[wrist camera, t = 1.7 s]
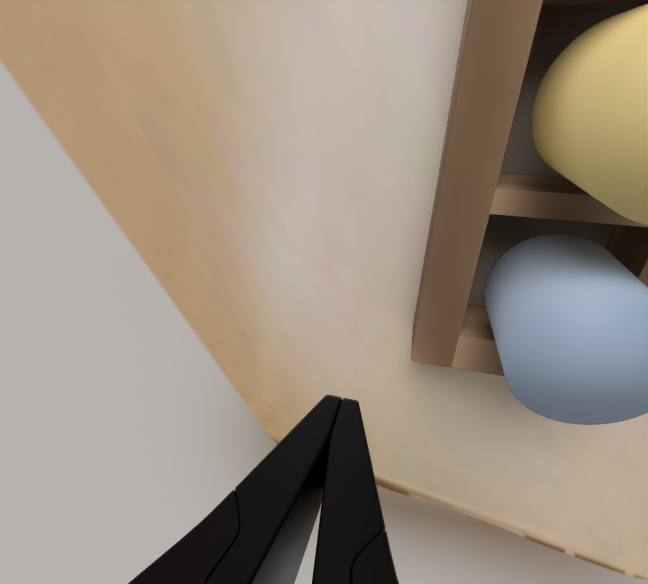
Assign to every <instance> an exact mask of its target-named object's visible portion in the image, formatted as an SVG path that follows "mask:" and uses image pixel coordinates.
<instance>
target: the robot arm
mask: <svg viewBox="0 0 648 584" xmlns="http://www.w3.org/2000/svg"><path fill="white" fill-rule="evenodd" d="M321 503H322V507H321V514H320V515H321V516H320V523H319V530H318V540H317V547H316V555H315V563H314V571H313V580H312V584H399V582H398V579H397V576H396V571H395V567H394V563H393V559H392V555H391V551H390V546H389V542H388V537H387V533H386V531H385V524H384V519H383V515H382V510H381V505H380V500H379V496H378V491H377V486H376V482H375V477H374V472H373V468H372V463H371V458H370V453H369V449H368V444H367V439H366V435H365V430H364V425H363V421H362V416H361V411H360V407H359V403H358V401H357V400H352V399H347V398H343V399H342V398H340V397H337V396H332V395H326V396H325V397H324V398H323V399H322V400H321V401H320V402H319V403H318V404H317V405H316V406H315V407H314V408H313V409H312V410H311V411H310V412H309V413H308V414H307V415H306V416H305V417H304V418H303V419H302V420H301V421H300V422H299V423H298V424H297V425H296V426H295V427H294V428H293V429H292V430H291V431H290V432H289V434H288V435H287V436H286V437H285V438H284V439H283V440H282V441H281V442H280V443H279V444H278V445H277V446H276V447H275V448H274V449H273V450H272V451H271V452H270V453H269V454H268V455H267V456H266V457H265V458H264V459H263V460H262V461H261V462H260V463H259V464H258V465H257V466H256V468H254V469H253V470H252V471H251V472H250V473H249V475H247V477H246V478H245V479H244V480H243V481H242V482H241V483H240V484H239V485H238V486H237V487H236V488H235V491H234V490H233V491H232V492H231V493H230V494H229V495H228V496H227V497H226V498H225V499H224V500H223V501H222V502H221V503H220V504H219V505H218V506H217V507H216V508H215V509H214V510H213V511H212V512H211V513H210V514H209V515H208V516H207V517H206V518H204V520H202V521H201V522H200V523H199V524H198V525H197V526H196V527H194V528H193V529H192V530H191V531H190V532H189V533H188V534H186V535H185V536H184V537H183V538H182V539H181V540H180V541H178V542H177V543H176V544H175V545H174V546H172V547H171V548H170V549H169V550H168V551H166V552H165V553H164V554H163V555H162V556H160V557H159V558H158V559H157V560H156V561H155V562H153V563H152V564H151V565H150V566H148V567H147V568H146V569H145V570H144V571H143V572H141V573H140V574H139V575H138V576H137V577H135V578H134V579H133V580H132V581H131V582H129V583H128V584H294V583H295V580H296V577H297V574H298V571H299V568H300V565H301V562H302V559H303V556H304V553H305V550H306V547H307V544H308V541H309V538H310V535H311V532H312V529H313V526H314V524H315V521H316V518H317V515H318V512H319V509H320V506H321Z"/></svg>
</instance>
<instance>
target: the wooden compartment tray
mask: <svg viewBox="0 0 648 584" xmlns="http://www.w3.org/2000/svg"><path fill="white" fill-rule="evenodd" d="M647 3H648V0H468V4H467V10H466V16H465V21H464V27H463V33H462V39H461V45H460V51H459V57H458V63H457V69H456V75H455V81H454V87H453V93H452V99H451V105H450V111H449V116H448V122H447V128H446V134H445V140H444V146H443V152H442V158H441V164H440V170H439V176H438V182H437V188H436V194H435V200H434V205H433V211H432V217H431V223H430V229H429V235H428V241H427V247H426V253H425V259H424V265H423V271H422V277H421V283H420V289H419V295H418V300H417V306H416V312H415V318H414V324H413V336H412V356H411V361H416V362H422V363H428V364H434V365H440V366H446V367H452V368H459V369H465V370H471V371H477V372H483V373H489V374H495V375H501V376H505V375H504V371H503V367H502V364H501V360H500V356H499V352H498V349H497V345H496V341H495V338H494V334H493V330H492V327H491V323H490V319H489V315H488V312H487V308H485V307H477V306H470V305H467V303H468V299H469V295H470V291H471V287H472V283H473V279H474V275H475V271H476V267H477V263H478V259H479V255H480V251H481V247H482V243H483V239H484V235H485V231H486V227H487V223H488V219H489V215H490V214H497V215H509V216H520V217H532V218H544V219H556V220H568V221H580V222H592V223H604V224H616V225H617V226H616V229H615V231H614V233H613V235H612V238H611V240H610V242H609V245H608V247H607V250H608V251H609V252H610V253H611V254H612V255H613V256H614V257H615V258H616V259H617V260H619V261H620V262H621V263H622V264H623V265H624V266H625V267H626V268H627V269H628V270H629V271H630V272H631V273H633V274H634V275H635V276H636V277H637V278H638V279H639V280H640V281H641V282H642V283H643V284H644V285H646V286H647V287H648V225H646V224H642V223H638V222H635V221H633V220H630V219H628V218H625V217H623V216H621V215H620V214H618V213H617V212H615V211H613V210H612V209H610V208H609V207H607V206H606V205H604V204H603V203H602V202H600V201H599V200H597V199H596V198H594V197H593V196H591V195H590V194H588V193H587V192H586V191H584V190H583V189H581V188H580V187H578V186H577V185H575V184H574V183H572V182H571V181H570V180H568V179H567V178H565V177H552V176H536V175H520V174H505V173H500V171H501V167H502V163H503V159H504V155H505V151H506V147H507V143H508V139H509V135H510V131H511V127H512V122H513V118H514V114H515V110H516V106H517V102H518V98H519V94H520V90H521V86H522V82H523V78H524V74H525V70H526V66H527V62H528V58H529V54H530V50H531V46H532V42H533V38H534V34H535V30H536V26H537V22H538V18H539V14H540V10H541V6H543V5H595V4H647Z"/></svg>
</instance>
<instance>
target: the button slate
mask: <svg viewBox="0 0 648 584" xmlns="http://www.w3.org/2000/svg"><path fill="white" fill-rule="evenodd" d="M484 300H485V304H486V308H487V312H488V315H489V319H490V323H491V327H492V330H493V334H494V338H495V341H496V345H497V349H498V352H499V356H500V360H501V364H502V367H503V371H504V375H505V378H506V381H507V384H508V386H509V388H510V390H511V392H512V393H513V394H514V396H515V397H516V398H517V399H518V400H519V401H520V402H521V403H522V404H523V405H525V406H526V407H527V408H529V409H530V410H532V411H534V412H535V413H537V414H540V415H542V416H544V417H547V418H550V419H553V420H556V421H561V422H565V423H572V424H584V425H594V424H607V423H614V422H619V421H624V420H628V419H631V418H635V417H637V416H640V415H643V414H645V413H648V287H647V286H646V285H644V284H643V283H642V282H641V281H640V280H639V279H638V278H637V277H636V276H635V275H634V274H633V273H631V272H630V271H629V270H628V269H627V268H626V267H625V266H624V265H623V264H622V263H621V262H620V261H619V260H617V259H616V258H615V257H614V256H613V255H612V254H611V253H610V252H609V251H608V250H607V249H605V248H604V247H603V246H602V245H601V244H599V243H597V242H596V241H594V240H592V239H589V238H587V237H584V236H581V235H576V234H570V233H552V234H545V235H540V236H537V237H533V238H530V239H528V240H525V241H523V242H521V243H519V244H517V245H515V246H514V247H512V248H511V249H509V250H508V251H506V252H505V253H504V254H503V255H502V256H501V257H500V258H499V259H498V260H497V261H496V262H495V264H494V265H493V266H492V268H491V269H490V271H489V273H488V275H487V278H486V281H485V285H484Z"/></svg>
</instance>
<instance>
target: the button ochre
mask: <svg viewBox="0 0 648 584" xmlns="http://www.w3.org/2000/svg"><path fill="white" fill-rule="evenodd" d="M531 132H532V137H533V141H534V144H535V147H536V149H537V151H538V153H539V154H540V156H541V158H542V159H543V160H544V161H545V162H546V164H548V165H549V166H550V167H551V168H552V169H554V170H555V171H556V172H558V173H559V174H561V175H562V176H564V177H565V178H567V179H568V180H570V181H571V182H572V183H574V184H575V185H577V186H578V187H580V188H581V189H583V190H584V191H586V192H587V193H588V194H590V195H591V196H593V197H594V198H596V199H597V200H599V201H600V202H602V203H603V204H604V205H606V206H607V207H609V208H610V209H612V210H613V211H615V212H617V213H618V214H620V215H621V216H623V217H625V218H628V219H630V220H633V221H635V222H638V223H642V224H646V225H648V4H646V5H643V6H640V7H637V8H634V9H631V10H628V11H626V12H623V13H620V14H617V15H614V16H612V17H609V18H607V19H605V20H603V21H601V22H599V23H597V24H596V25H594V26H592V27H591V28H589V29H588V30H586V31H585V32H584V33H582V34H581V35H580V36H578V37H577V38H576V39H575V40H573V41H572V42H571V43H570V44H569V45H568V46H567V47H566V48H565V49H564V50H563V51H562V52H561V53H560V55H559V56H558V57H557V58H556V59H555V61H554V62H553V63H552V65H551V66H550V67H549V69H548V71H547V72H546V74H545V76H544V77H543V79H542V81H541V83H540V85H539V88H538V90H537V93H536V96H535V99H534V102H533V107H532V113H531Z"/></svg>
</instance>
